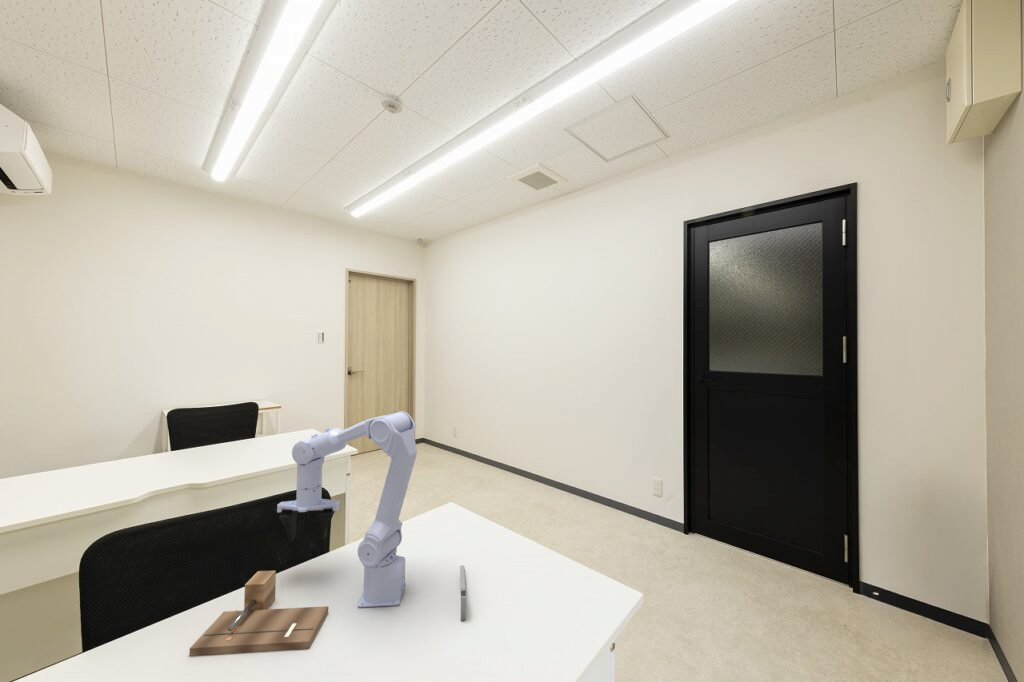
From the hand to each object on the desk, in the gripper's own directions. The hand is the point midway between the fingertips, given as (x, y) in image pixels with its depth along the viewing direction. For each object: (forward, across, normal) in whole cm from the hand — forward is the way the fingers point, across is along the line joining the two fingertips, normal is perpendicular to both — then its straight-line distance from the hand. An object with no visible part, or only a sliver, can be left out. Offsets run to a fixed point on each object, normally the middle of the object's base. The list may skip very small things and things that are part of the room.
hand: (308, 538), depth 97 cm
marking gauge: (+11, -6, -14) cm, 19 cm away
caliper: (+11, +40, -8) cm, 42 cm away
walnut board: (+10, -1, -18) cm, 21 cm away
